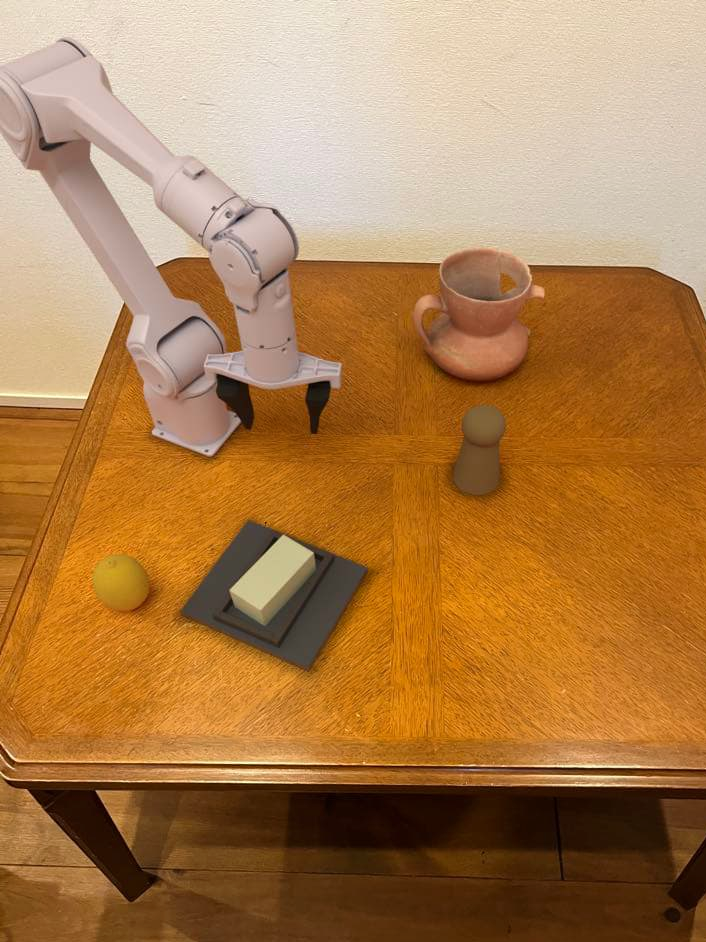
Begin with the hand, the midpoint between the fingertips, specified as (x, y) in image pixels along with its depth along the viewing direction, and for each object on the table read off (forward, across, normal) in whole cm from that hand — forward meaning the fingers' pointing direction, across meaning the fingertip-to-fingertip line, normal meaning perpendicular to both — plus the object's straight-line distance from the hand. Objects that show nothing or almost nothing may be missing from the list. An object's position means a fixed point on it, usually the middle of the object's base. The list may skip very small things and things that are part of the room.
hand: (282, 425), depth 86 cm
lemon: (+10, +15, +20) cm, 26 cm away
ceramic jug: (+10, -23, -25) cm, 35 cm away
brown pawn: (+10, -24, -2) cm, 25 cm away
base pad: (+9, -1, +17) cm, 20 cm away
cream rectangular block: (+8, -1, +17) cm, 19 cm away
